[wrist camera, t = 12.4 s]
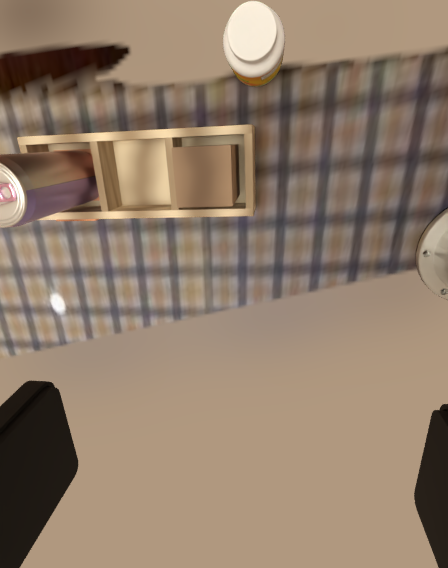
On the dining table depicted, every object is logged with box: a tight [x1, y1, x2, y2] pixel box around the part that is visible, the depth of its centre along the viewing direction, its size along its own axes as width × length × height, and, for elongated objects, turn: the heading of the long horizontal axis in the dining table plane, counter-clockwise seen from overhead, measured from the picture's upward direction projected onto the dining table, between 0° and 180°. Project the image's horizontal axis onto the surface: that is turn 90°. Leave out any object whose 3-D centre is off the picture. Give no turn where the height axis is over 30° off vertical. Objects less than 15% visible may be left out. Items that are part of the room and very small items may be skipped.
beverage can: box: [0, 150, 99, 227], centre depth 36 cm, size 6×6×15 cm
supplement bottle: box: [223, 1, 285, 87], centre depth 32 cm, size 5×5×10 cm
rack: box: [17, 125, 256, 221], centre depth 40 cm, size 25×9×5 cm, turn 92°
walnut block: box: [172, 144, 240, 208], centre depth 37 cm, size 6×6×8 cm
